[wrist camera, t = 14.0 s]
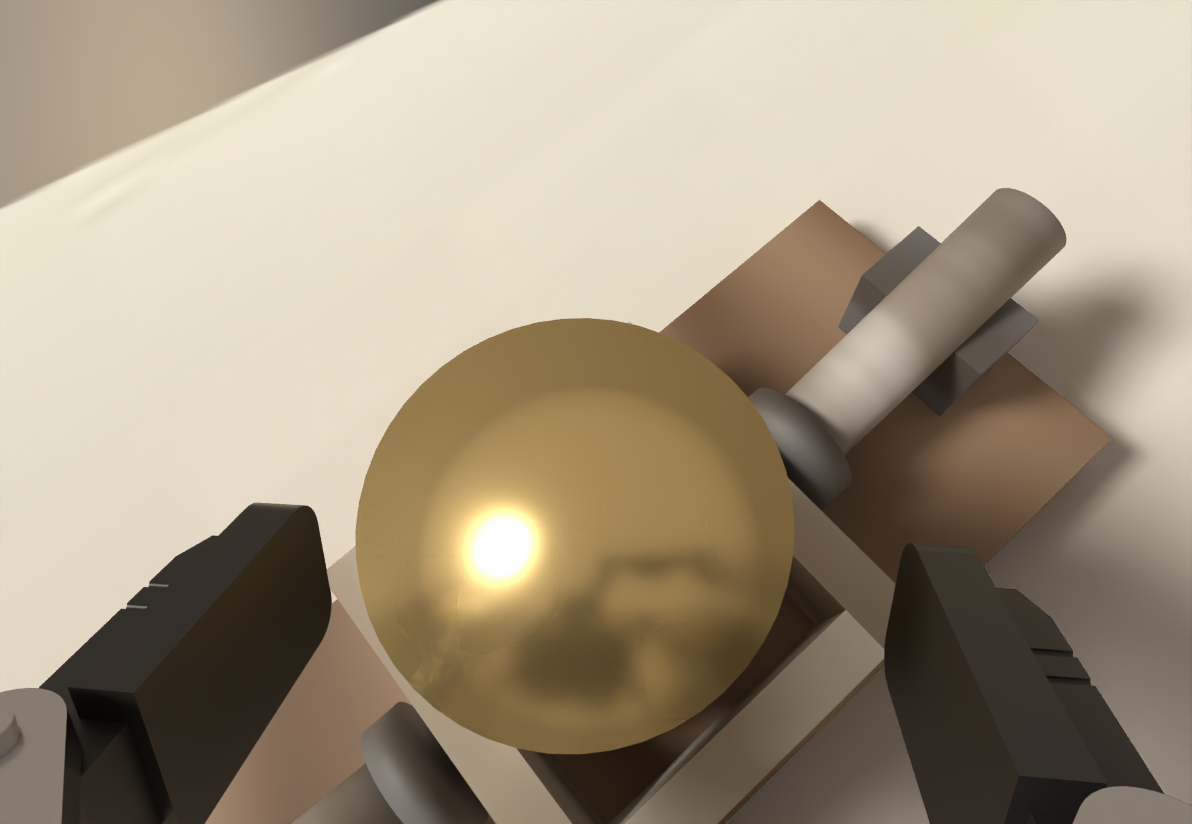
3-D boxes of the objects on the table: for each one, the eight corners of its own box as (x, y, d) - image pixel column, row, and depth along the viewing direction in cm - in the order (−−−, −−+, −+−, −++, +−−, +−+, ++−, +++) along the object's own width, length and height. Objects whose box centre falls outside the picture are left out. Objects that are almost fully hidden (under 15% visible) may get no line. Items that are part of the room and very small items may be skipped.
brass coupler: (630, 478, 18) (595, 241, 9) (767, 627, 17) (899, 532, 7) (481, 606, 17) (268, 497, 8) (611, 774, 16) (536, 878, 7)
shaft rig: (829, 215, 22) (880, 64, 17) (1100, 436, 19) (1264, 337, 14) (116, 811, 18) (-110, 857, 13) (323, 1204, 15) (142, 1473, 10)
